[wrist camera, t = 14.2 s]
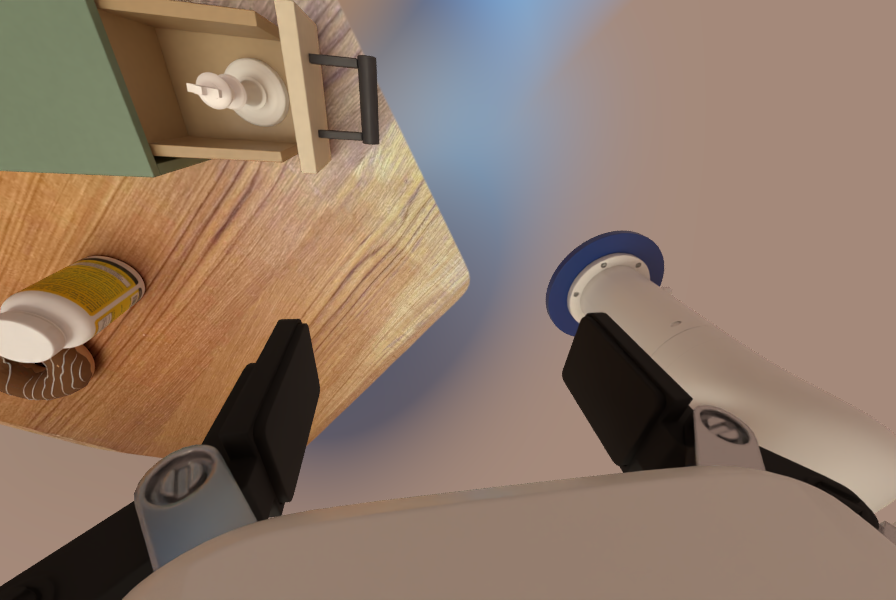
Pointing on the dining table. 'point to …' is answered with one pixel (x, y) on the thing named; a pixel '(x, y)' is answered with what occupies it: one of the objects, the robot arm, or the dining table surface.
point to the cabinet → (68, 96)
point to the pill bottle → (67, 308)
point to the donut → (48, 375)
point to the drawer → (211, 50)
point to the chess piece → (245, 91)
